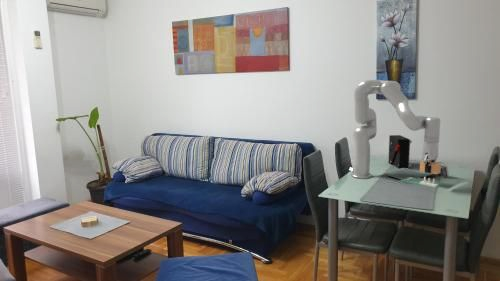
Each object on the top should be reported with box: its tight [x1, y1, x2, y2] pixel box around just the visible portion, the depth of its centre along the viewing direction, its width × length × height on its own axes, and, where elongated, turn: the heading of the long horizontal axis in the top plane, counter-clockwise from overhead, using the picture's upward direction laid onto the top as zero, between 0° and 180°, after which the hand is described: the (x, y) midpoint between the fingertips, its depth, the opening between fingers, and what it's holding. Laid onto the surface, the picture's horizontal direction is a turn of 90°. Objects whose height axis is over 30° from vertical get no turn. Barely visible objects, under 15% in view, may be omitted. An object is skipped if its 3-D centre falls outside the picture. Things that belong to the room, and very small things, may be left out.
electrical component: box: [388, 134, 413, 170], centre depth 270 cm, size 18×10×20 cm, turn 179°
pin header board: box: [398, 176, 448, 189], centre depth 225 cm, size 22×14×6 cm, turn 40°
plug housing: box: [419, 160, 442, 175], centre depth 218 cm, size 10×4×6 cm, turn 40°
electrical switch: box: [432, 163, 450, 178], centre depth 237 cm, size 9×5×9 cm, turn 20°
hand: (429, 171), depth 218 cm, fingers closed on plug housing, 4 cm apart
